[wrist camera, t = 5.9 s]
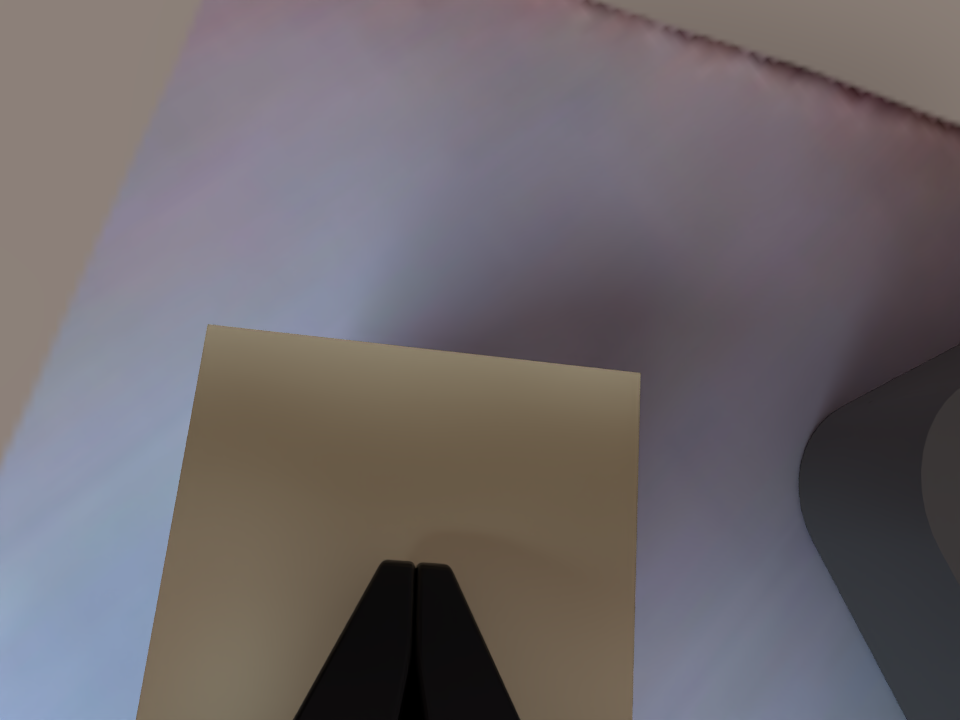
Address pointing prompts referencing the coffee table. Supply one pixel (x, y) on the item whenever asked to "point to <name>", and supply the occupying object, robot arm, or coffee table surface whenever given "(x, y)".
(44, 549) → the coffee table surface
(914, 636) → the streaming box
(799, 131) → the coffee table surface
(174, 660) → the plain birch block
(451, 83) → the coffee table surface
